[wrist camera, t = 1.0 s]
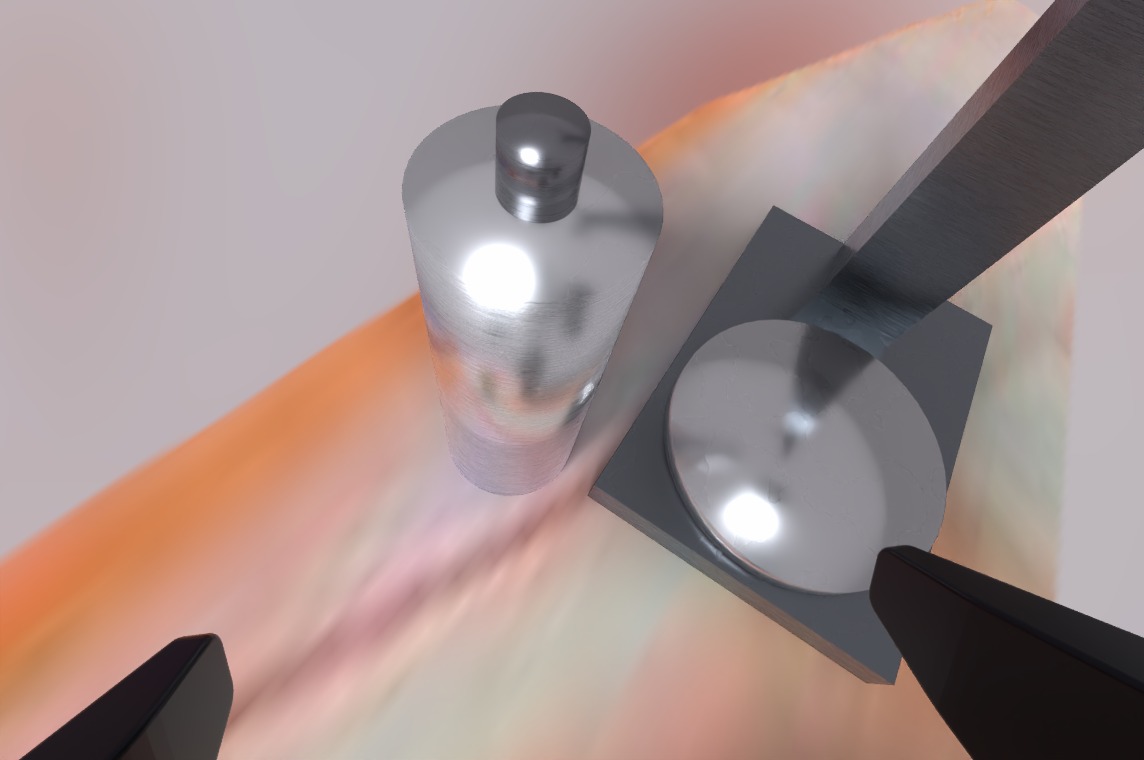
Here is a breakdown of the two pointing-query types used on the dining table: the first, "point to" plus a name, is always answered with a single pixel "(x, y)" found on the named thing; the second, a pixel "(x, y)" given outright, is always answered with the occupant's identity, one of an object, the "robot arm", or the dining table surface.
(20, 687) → the dining table surface
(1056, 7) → the stand
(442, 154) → the silver metal bottle
